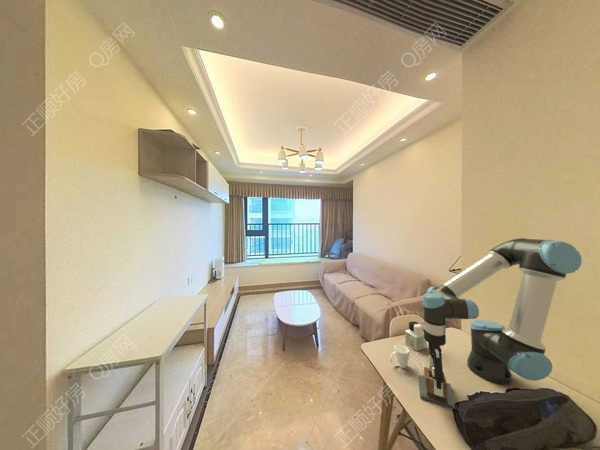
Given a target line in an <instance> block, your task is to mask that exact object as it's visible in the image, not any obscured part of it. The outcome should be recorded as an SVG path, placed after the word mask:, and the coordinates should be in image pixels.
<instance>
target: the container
mask: <svg viewBox="0 0 600 450" xmlns="http://www.w3.org/2000/svg"><path fill="white" fill-rule="evenodd" d="M404 333H405V334H404V335H405V337H404V339H405V344H406V345H407V344H408V346H409V347H410V346H411V348H412V349H413V348H414V349H413V350H415V351H417V352H418V351H421V350H425V349H428V346H427V345H428V342H427V341H426V340H425V339H424V332H423V325H422V323H419V322H417V321H412V320H411V321H409V322H408V329H405V331H404ZM424 348H425V349H424Z"/></svg>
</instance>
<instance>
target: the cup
mask: <svg viewBox="0 0 600 450" xmlns="http://www.w3.org/2000/svg"><path fill="white" fill-rule="evenodd" d="M393 350H394V351H393V352H392V353H391V354H390V357H389V358H390V359H389V360H390V362H391V364H393V365H394V366H395V367H400V368H402V369H403V368H404V369H406V368H407V367H408V363H409V356H410V350H409V348H408V347H407V346H405V345H403V344H395V345H394V346H393ZM394 355H395V360H396V364H395V363H394V362H393V356H394Z"/></svg>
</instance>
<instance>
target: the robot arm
mask: <svg viewBox="0 0 600 450" xmlns="http://www.w3.org/2000/svg"><path fill="white" fill-rule="evenodd" d="M582 262H583V261H582V256H581V254H580V251H579V250H577V247H575V246H573V245H572V244H570V243H569V242H565V241H561V240H551V239H539V238H538V239H535V238H533V239H532V238H525V237H522V238H521V237H519V238H514V239H510V240H507V241H505V242H502V243H500V244H498V245H496V246H495V247H492V248H491V249H489V250H488V251H487V252H486V253H485V256H483V257H482V258H481V259H478V261H475V262H474V263H473V264H471V265H469V266H468V267H467V268H465V269H464V270H463V271H461V272H459V273H458V274H456V275H455V276H453V277H451V278H450V279H449V280H447V281H446V282H444V283H442V285H440V286H430V287H429V288H428V289H427V290H426V293H424V294H423V295H422V309H423V311H422V312H423V321H421V325H422V324H423V333H424V339H425V340H426V341H427V345H428V346H427V350H428V365H429V366H428V368H431V369H432V367H434V377H432V378H433V379H434V394H435V395H438V396H441V397H443V383H444V379H443V372H444V371H443V361H442V360H443V359H442V357H443V353H442V347H443V346H445V345H446V342H447V341H446V330H447V329H446V319H449V320H451V319H454V320H455V319H457V320H472V321H471V323H470V341H471V350H470V352H469V354H468V357H467V360H466V363H467V366H468V368H469V370H470V371H472V372H473V373H474V374H475V375H477V376H479V377H480V378H482V379H484V380H486V381H487V382H488V381H489V382H492V383H494V384H497V385H498V384H499V385H510V384H511V383H513V374H512V372H513V373H514V374H516V375H518V376H519V377H521V378H522V379H525V380H528V381H535V382H536V381H541V380H544V379H546V378H547V377H549V376H550V375H551V373H552V372H553V363H552V362H551V359H549V357H548V356H547V355H545V353H546V350H547V348H546V346H545V345H544V344H543V343H542V338H543V334H544V331H545V327H546V324H547V320H548V316H549V312H550V310H551V309H550V308H551V305H552V301H553V298H554V294H555V291H556V287H557V285H558V284H557V283H558V282H560V281H562V280H565V279H566V277H567V274H574V273H575V272H576V271H578V270H579V269H580V268H581V266H582ZM516 265H517V266H518V269H519V270H520V271H521V272H522V277H521V281H520V284H519V288H518V292H517V295H516V299H515V302H514V306H513V310H512V313H511V318H510V320H509V324H508V328H506V327H505V326H504V325H503V324H500V323H498V322H495V321H491V320H490V321H489V320H485V319H477V318H478V317H479V316H480V310H479V307H478V305H477V303H476V302H475V301H473V300H472V299H468V298H467V299H466V298H459V297H461V296H462V295H464V294H465V293H467V292H468V291H470V290H472V289H473V288H475V287H476V286H479V285H480V283H481V284H482V282H483V281H486V280H487V279H489V278H490V277H491V276H494V275H495V274H496V273H497V272H499V271H501V270H503V269H506V270H507V269H509V268H510V267H513V266H516ZM473 319H474V320H473ZM441 346H442V347H441Z"/></svg>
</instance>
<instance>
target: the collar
mask: <svg viewBox="0 0 600 450" xmlns="http://www.w3.org/2000/svg"><path fill="white" fill-rule="evenodd" d="M423 372H424V374H423V376H424V380H425V387H426V393H429V394H432V395H435V394H434V379H433V378H432V369H431V368H429V367H427V366H424V367H423ZM443 379H444V383H443V397H442V398H445V399H448V397H447V383H448V382H447V380H446V376H445V373H444V371H443ZM435 396H438V395H435ZM439 397H441V396H439Z"/></svg>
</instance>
